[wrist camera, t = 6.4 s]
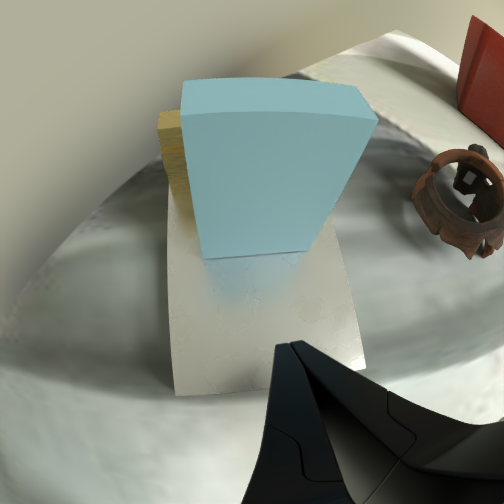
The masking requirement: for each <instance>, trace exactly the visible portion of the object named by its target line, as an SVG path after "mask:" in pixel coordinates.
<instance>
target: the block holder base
mask: <svg viewBox="0 0 504 504" xmlns="http://www.w3.org/2000/svg"><path fill="white" fill-rule="evenodd" d="M157 131H158V136H159V141H160V146H161V150H162V152H161V155H162V159H163V163H164V168H165V172H166V173H167V176H168V180H169V196H168V229H167V276H168V309H169V328H170V344H171V357H172V368H173V378H174V388H175V396H194V395H210V394H223V393H233V392H242V391H251V390H259V389H266V388H270V382H271V374H272V366H273V357H274V349H275V345H276V344H280V343H290V342H292V341H298V340H303V341H305V342H307V343H308V344H310V345H312V346H313V347H315V348H317V349H318V350H320V351H322V352H323V353H325V354H327V355H328V356H330V357H332V358H333V359H335V360H337V361H338V362H340V363H342V364H343V365H345V366H347V367H349V368H350V369H352V370H354V371H356V370H360V369H364V368H366V365H365V359H364V353H363V348H362V343H361V337H360V332H359V327H358V323H357V318H356V313H355V309H354V304H353V300H352V295H351V291H350V287H349V283H348V279H347V275H346V271H345V267H344V263H343V259H342V255H341V251H340V248H339V244H338V240H337V237H336V233H335V230H334V226H333V223H332V220H331V216H330V214H329V216H328V218H327V220H326V221H325V223H324V225H323V227H322V228H321V230H320V232H319V234H318V235H317V237H316V239H315V241H314V242H313V244H312V246H311V248H310V249H309V250H306V251H294V252H283V253H271V254H259V255H247V256H235V257H223V258H211V259H203V258H202V252H201V247H200V242H199V236H198V231H197V225H196V220H195V214H194V208H193V202H192V196H191V190H190V183H189V177H188V170H187V164H186V157H185V150H184V142H183V135H182V127H181V119H180V110H173V111H164V112H160V115H159V121H158V127H157Z"/></svg>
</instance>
